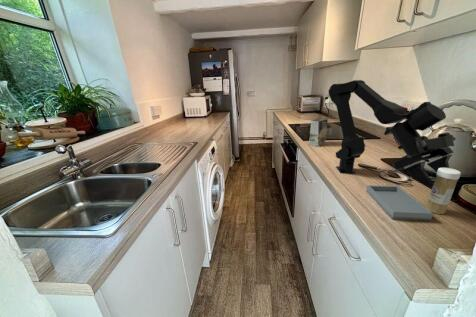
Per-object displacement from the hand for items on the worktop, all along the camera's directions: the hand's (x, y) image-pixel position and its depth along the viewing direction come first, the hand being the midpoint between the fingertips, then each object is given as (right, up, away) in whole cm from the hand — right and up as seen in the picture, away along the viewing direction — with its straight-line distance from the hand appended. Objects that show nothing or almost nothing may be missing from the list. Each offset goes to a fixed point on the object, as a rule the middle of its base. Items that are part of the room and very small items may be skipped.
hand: (441, 183), depth 58 cm
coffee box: (-8, +16, +71) cm, 74 cm away
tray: (-9, -8, +6) cm, 13 cm away
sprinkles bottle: (+1, -9, +2) cm, 9 cm away
